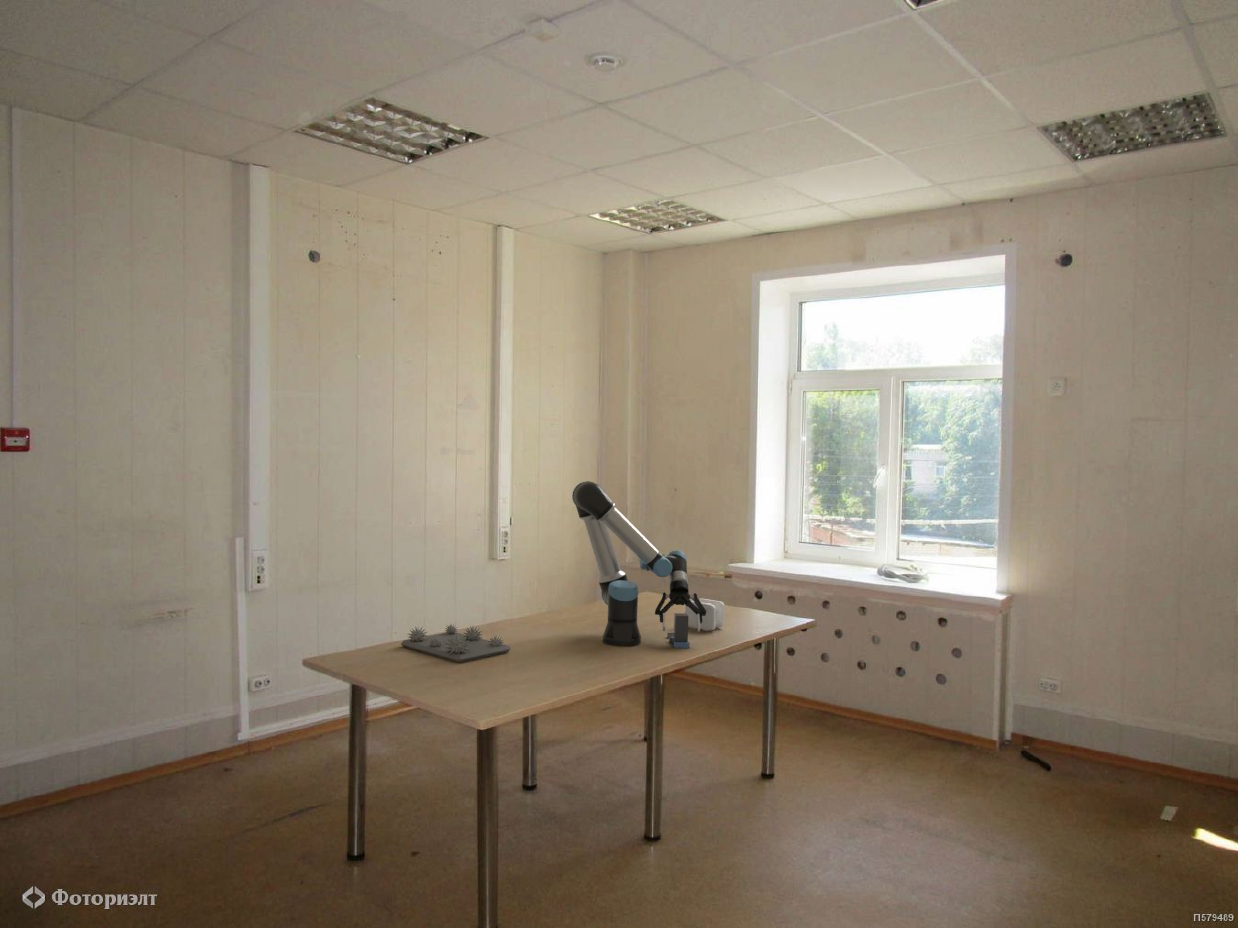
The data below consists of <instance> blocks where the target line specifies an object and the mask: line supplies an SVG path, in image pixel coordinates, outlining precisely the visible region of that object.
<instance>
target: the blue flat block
mask: <svg viewBox="0 0 1238 928" xmlns="http://www.w3.org/2000/svg"><path fill="white" fill-rule="evenodd" d="M671 643H672V644H673V648H678V649H680V648H682V649H683V648H684V649H689V648H690V646H691V645H690V644H691V643H690V642H689V641H688V642H674V637H672V642H671Z"/></svg>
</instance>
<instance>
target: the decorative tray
mask: <svg viewBox="0 0 1238 928" xmlns="http://www.w3.org/2000/svg"><path fill="white" fill-rule="evenodd" d="M445 626H446V628H444V629H445V631H444V632H443V633H437V634H433V635H427V633H428V631H425V629H423V626H421V628H419V627H418V626H415V627H414V628H415V630H414V629H413V628H411V629H410V630H409V632H411V633H407V635H408V639H404V640H402V641H401V643H400V645H401V646H402V647H403V648H406V649H411V650H413V651H417V652H421V653H424V654H427V655H431V656H434V657H438V658H441V659H445V660H448V661H453V662H456V663H458V664H460V663H465V662H468V661H472V660H473V661H474V660H478V659H482V658H486V657H493V656H495V655H500V654H505V653H509V652H510V650H511V649H512V648H511V647H510V646H509V645H508V644H504V643H505V642H504V639H502V637H500V635H498V637H497V635H493V637H492V636H490V637H489V640H487V639H484V638H483V637H482V636H483V633H482V632H483V630H480V629H481V628H480V627H479V628H478V626H476V627H475V626H471V624H470V625H469V626H470V627H469V628H470V629H469V628H468V627H466V629H465V632H463V633H459V632H458V626H457V625H455V624H452V622H451V624H449V625H445ZM474 627H475V628H474ZM479 630H480V631H479Z"/></svg>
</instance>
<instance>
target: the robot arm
mask: <svg viewBox="0 0 1238 928" xmlns="http://www.w3.org/2000/svg"><path fill="white" fill-rule="evenodd" d="M572 502H573V504H574V505H575V507H576V510H577V515H578V517H579V519H580V520H583V522H584V524H585V527H586V530H587V531H586V532H587V535H588V537H589V541H590V545H591V548H592V551H593V555H594V558H595V562H596V565H597V568H598V571H599V574H600V578H599V579H598V585H599V586H600V591H601V592H600V593H601V598H602V601H603V602H604V604H606V606H607V623H606V626H605V629H604V631H603V634H602V642H603V643H604V644H606V645H610V646H614V647H615V646H617V647H632V646H637V645H640V644H641V643H642V637H641V631H640V629H639V625H638V608H639V607H638V602H639V597H638V596H639V587H638V584H636V583H635V582H632V581H630V580H628V576H627V572H625V571H623V570H622V569H621V566H620V562H619V559H618V555H617V553H616V549H615V546H614V543H613V540H612V535H611V533H610V531H611V532H612V533H613V534H614V535H615V536H616V537H617V538H618V539H619V540H620V541H621V542H622V543H623V544H624V545H625V546H626V547H627V548H628V549H629V550H630V551H631V552H633V554H634V555H635V556H636V557H638V559H640V560H639V568H640V570H643V571H647V572H652V573H653V574H654V575H655V576H656V577H659V578H666V577H668V579H669V593H666V592H665V591H663V592H662V596H661V597H662V598H661V599H660V601H659V602H658V604H657V607H656V608H655V610H654V611H655V612H654V614H655V616H657V615H658V616H659V622H660V623H662V631H663V632H665V631H666V613H667V612H668V611H669V610H670V608H671V607H673V606H674V605H676V606H679V605H680V606H684V605H686V606H687V607H689V608H690V609H691V610H692V611H693V612H694V613H695V614H696V615H697V632H700V631H701V629H700V623H702V616H705V615H706V610H705V608H704V607H703V605H702V604H701V602H700V601H699V599H700V598H699V597H698V595H697V593H696V592H694V593H693V594H690V593H689V592H690V589H689V580H688V565H687V563H688V562H687V556H686V553H684V552H683V551H682V550H679V549H678V550H671V552H669V554H663V553H661V552H660V551H659V550H658V549H657V548H656V547H655V545H653V544H652V543H651V542H650V541H649V540H648V538H646V536H645V535H644V534H642V533H641V531H640V530H638V528H637V527H635V525H633V523H631V522H630V520H628V518H627V517H625V516H624V514H623V513H621V512H620V510H619V509H617V508H616V503H615V502H614V501H613V500H612V499H611V497H609V495H608V494H607V493H606V491H605V490H604V489H603V488H602V487H601V486H600V485H599V484H598V483H595V482H593V481H590V480H589V481H588V480H586V481H582V482H580V483H578V484H577V485H576V486H575V487H574V488H573V490H572ZM668 599H669V601H668V602H667V603H666V604H665V601H666V600H668ZM691 601H694V602H695V604H696V606H697V607H698V608H697V607H696V606H695V605H694V604H693V603H692V602H691ZM664 604H665V605H664ZM663 605H664V606H663ZM662 607H663V608H662Z"/></svg>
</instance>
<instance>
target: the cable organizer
mask: <svg viewBox="0 0 1238 928" xmlns="http://www.w3.org/2000/svg"><path fill="white" fill-rule="evenodd" d="M698 599H699V601H700V602H701V604H702V605H703V607H704V608H705V610H706V615H705V616H702V623H700V630H702V631H705V632H710V631H714V630H715V629H719V628H723V627H724V626H725V613H726V612H725V611H726V610H725V609H726V605H725V604H724V602H723V601H720V600H713V599H708V598H698ZM690 601H691V602H692V603H693V604H694V605H695V606H696V604H695V602H694V601H693V600H690ZM684 605H685V604H684ZM696 607H697V606H696ZM684 608H685V609H684V610H685V611H684V612H685V613H684V614H688V628H690V629H695V630H696V629H697V630H698V628H697V615H696V614H695V613H694V612H693V611H692V610H691V609H690V608H689V607H687V606H686V605H685V606H684ZM697 608H698V607H697Z"/></svg>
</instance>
